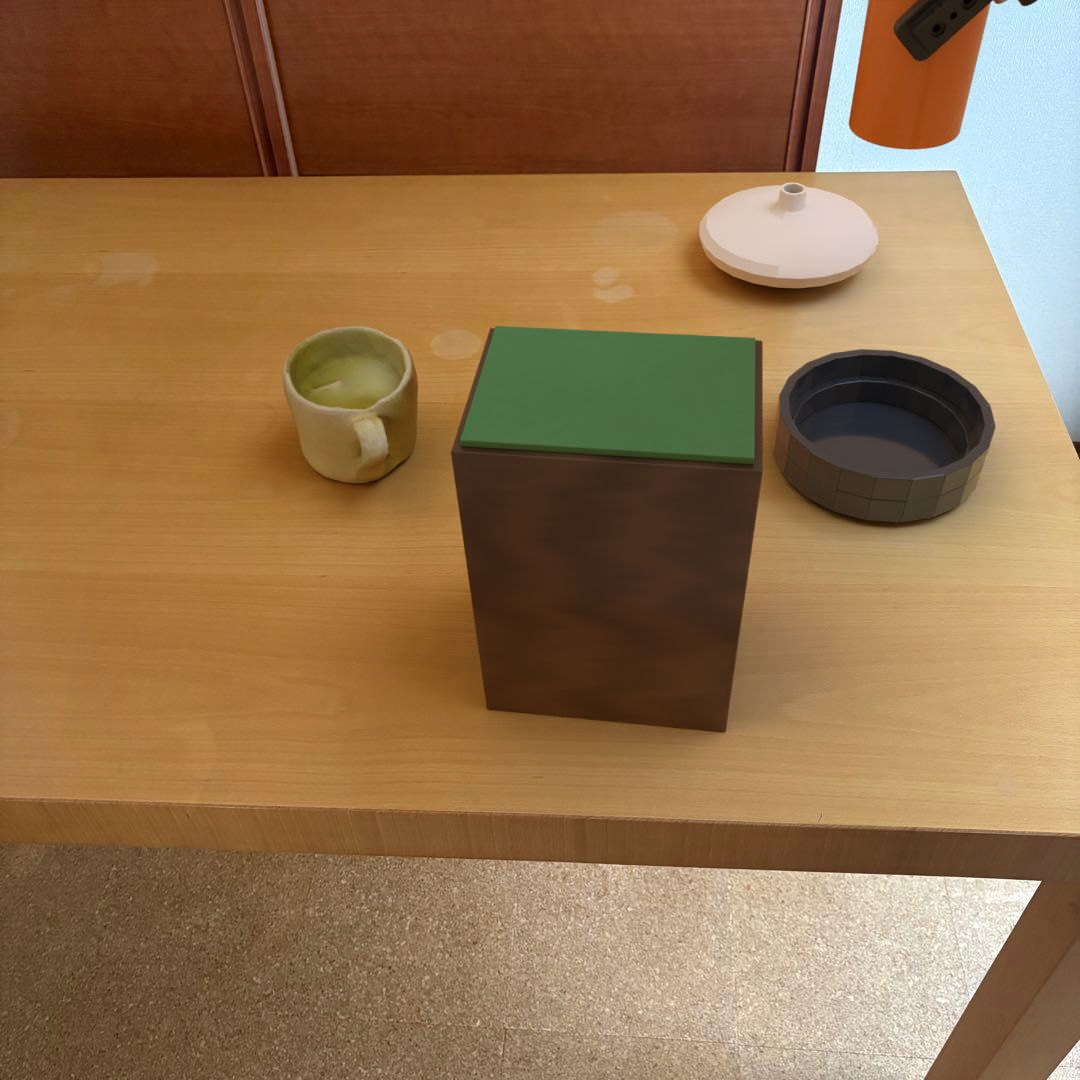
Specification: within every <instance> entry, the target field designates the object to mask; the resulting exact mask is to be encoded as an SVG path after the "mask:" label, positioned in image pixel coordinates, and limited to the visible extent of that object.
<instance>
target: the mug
mask: <svg viewBox="0 0 1080 1080" xmlns="http://www.w3.org/2000/svg"><path fill="white" fill-rule="evenodd" d="M282 386H283V391H284V396H285V398H286V403H287V405H288V407H289V410H290V412H291V416H292V419H293V421H294V424H295V427H296V431H297V434H298V439H299V445H300V449H301V452H302V454H303V456H304V458H305V460H306V461H307V463H308V464H309V465H310V467H311V468H312V469H313V470H314V471H316V472H317V473H318V474H320V475H321V476H322V477H324V478H327V479H331V480H334V481H337V482H341V483H349V484H366V483H369V482H373V481H377V480H379V479H382V478H383V477H384V476H386V475H387V474H389V473H390V472H391V471H393V470H394V469H395V468H396V467H397V466H398V465H399V464H401V463H402V462H404V461H406V460H407V459H408V458H409V456H410V455H411V454H412V452H413V451H414V448H415V445H416V443H417V435H418V394H419V382H418V374H417V370H416V366H415V362H414V359H413V357H412V355H411V352H410V350H409V349H408V348H407V346H406V345H405V344H403V342H402V341H401V340H400V339H398V338H395V337H392V336H389V335H387V334H386V333H385V332H382V331H381V330H379V329H376V328H373V327H369V326H365V325H355V326H354V325H353V326H352V325H350V326H341V327H339V326H338V327H334V328H331V329H324V330H323V329H322V330H321V331H319V332H317V333H315V334H313V335H312V336H309V337H306V338H305V339H303V340H302V341H300V342H299V343H298V344H297V345H296V346H295V347H294V348H293V350H292V351H291V352H290V353H289V355H288V356H287V358H286V361H285V363H284V366H283V369H282Z"/></svg>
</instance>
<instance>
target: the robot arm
mask: <svg viewBox="0 0 1080 1080" xmlns="http://www.w3.org/2000/svg"><path fill="white" fill-rule="evenodd" d="M1007 1H1008V0H918V1H917V2H916V3H915V4H914V5H912V6H911V7H910V8H909V9H908V10H907V11H906V12H905V13H904V14H903V15H902V16H901V17H900V18H899V19H898V20H897V21H896V22H895V24H894V28H893V31H894V34H895V35H896V37H897V38H898V39H899V41H900V42H901V43H902V44H903V46H904V47H905V48H906V49H907V50H908V52H909V53H910V54H911V55H912V57H913V58H914V59H915V60H917V61H924V60H926V59H928V58H929V57H930V56H931V55H932V54H933V53H935V52H936V51H937V50H938V49H939V48H940V47H941V46H942V45H944V44H945V43H946V42H947V41H948V40H949V39H950V38H951V37H952V36H954V35H955V34H956V33H957V32H958V31H959V30H960V29H961V28H963V27H964V26H965V25H966V24H967V23H968V22H969V21H970V20H971V19H973V18H974V17H975V16H976V15H977V14H978V13H979V12H980V11H982V10H983V9H984V8H985V7H986V6H987V5H988V4H989V3H990V2H991V3H992V2H993V3H994V4H996V5H1001V4H1003V3H1005V2H1007ZM1017 1H1018V3H1019V4H1020V5H1021V7H1028V6H1031V5H1033V4H1035V3H1036V2H1038V0H1017Z"/></svg>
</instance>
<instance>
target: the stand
mask: <svg viewBox="0 0 1080 1080" xmlns="http://www.w3.org/2000/svg"><path fill="white" fill-rule="evenodd" d="M494 330H495V327H490V328H489V331H488V333H487V336H486V339H485V343H484V347H483V350H482V352H481V356H480V359H479V362H478V365H477V368H476V372H475V375H474V377H473V381H472V384H471V387H470V390H469V393H468V397H467V400H466V403H465V406H464V409H463V413H462V416H461V418H460V422H459V425H458V428H457V431H456V434H455V437H454V441H453V444H452V447H451V450H450V456H451V465H452V471H453V477H454V478H453V479H454V485H455V492H456V499H457V507H458V514H459V520H460V521H459V522H460V528H461V536H462V542H463V550H464V556H465V557H464V558H465V563H466V570H467V571H466V572H467V578H468V585H469V591H470V592H469V593H470V599H471V600H470V601H471V606H472V613H473V621H474V628H475V635H476V642H477V649H478V656H479V665H480V671H481V676H482V677H481V678H482V686H483V693H484V699H485V706H486V707H485V708H486V709H487V710H492V711H502V712H503V711H504V712H514V713H524V714H525V713H526V714H534V715H543V716H544V715H546V716H555V717H564V718H565V717H567V718H575V719H584V720H585V719H586V720H597V721H607V722H617V723H618V722H619V723H627V724H637V725H638V724H639V725H647V726H648V725H649V726H656V727H657V726H658V727H669V728H679V729H690V730H699V731H708V732H709V731H711V732H720V733H726V732H727V726H728V718H729V712H730V704H731V698H732V691H733V684H734V675H735V669H736V663H737V656H738V649H739V643H740V634H741V628H742V621H743V614H744V608H745V607H744V606H745V599H746V592H747V586H748V578H749V572H750V571H749V570H750V564H751V557H752V550H753V544H754V538H755V537H754V536H755V529H756V521H757V515H758V510H759V509H758V507H759V500H760V496H761V495H760V494H761V487H762V481H763V474H764V422H763V421H764V416H763V414H764V410H763V409H764V402H763V401H764V400H763V399H764V397H763V396H764V393H763V391H764V390H763V389H764V387H763V385H764V384H763V383H764V382H763V381H764V379H763V378H764V377H763V376H764V373H763V372H764V371H763V370H764V367H763V366H764V360H763V359H764V357H763V353H764V352H763V349H764V347H763V345H764V342H763V340H759V339H758V340H757V339H755V458H754V464H738V463H722V462H706V461H690V460H674V459H658V458H641V457H625V456H609V455H593V454H577V453H561V452H545V451H529V450H513V449H497V448H481V447H465V446H461V444H460V439H461V435H462V432H463V429H464V426H465V423H466V419H467V416H468V413H469V410H470V407H471V403H472V400H473V397H474V394H475V391H476V387H477V384H478V381H479V378H480V375H481V371H482V368H483V365H484V362H485V359H486V355H487V352H488V349H489V346H490V343H491V339H492V336H493V333H494Z"/></svg>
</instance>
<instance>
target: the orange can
mask: <svg viewBox="0 0 1080 1080" xmlns="http://www.w3.org/2000/svg"><path fill="white" fill-rule="evenodd" d="M917 1H918V0H867V8H866V14H865V19H864V25H863V26H864V27H863V31H862V36H861V37H862V38H861V44H860V50H859V56H858V63H857V68H856V74H855V81H854V88H853V94H852V99H851V106H850V112H849V117H848V127H849V130H850V132H851V133H853V135H855V136H856V137H858V139H861V140H863V141H865V142H867V143H869V144H872V145H876V146H880V147H884V148H890V149H897V150H925V149H926V150H927V149H932V148H937V147H942V146H944V145H947V144H949V143H951V142H953V141H954V140H956V139H957V138H958V137H959V135H960V133H961V129H962V125H963V121H964V116H965V113H966V109H967V104H968V100H969V96H970V92H971V87H972V83H973V80H974V75H975V72H976V66H977V62H978V58H979V55H980V49H981V47H982V41H983V38H984V33H985V29H986V25H987V21H988V16H989V13H990V10H991V9H990V8H991V4H992V2H990V3H989V4H988V5H987V6H986V7H985V8H984V9H983V10H982V11H980V12H979V13H978V14H977V15H976V16H975V17H974V18H973V19H971V20H970V21H969V22H968V23H967V24H966V25H965V26H964V27H963V28H961V29H960V30H959V31H958V32H957V33H956V34H955V35H954V36H952V37H951V38H950V39H949V40H948V41H947V42H946V43H945V44H944V45H942V46H941V47H940V48H939V49H938V50H937V51H936V52H935V53H933V54H932V55H931V56H930V57H929V58H928V59H926V60H924V61H917V60H915V59H914V58H913V57H912V55H911V54H910V53H909V52H908V50H907V49H906V48H905V47H904V46H903V44H902V43H901V42H900V41H899V39H898V38H897V37H896V35H895V34H894V31H893V28H894V24H895V22H896V21H897V20H898V19H899V18H900V17H901V16H902V15H903V14H904V13H905V12H906V11H907V10H908V9H909V8H910V7H911V6H912V5H914V4H915V3H916V2H917Z"/></svg>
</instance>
